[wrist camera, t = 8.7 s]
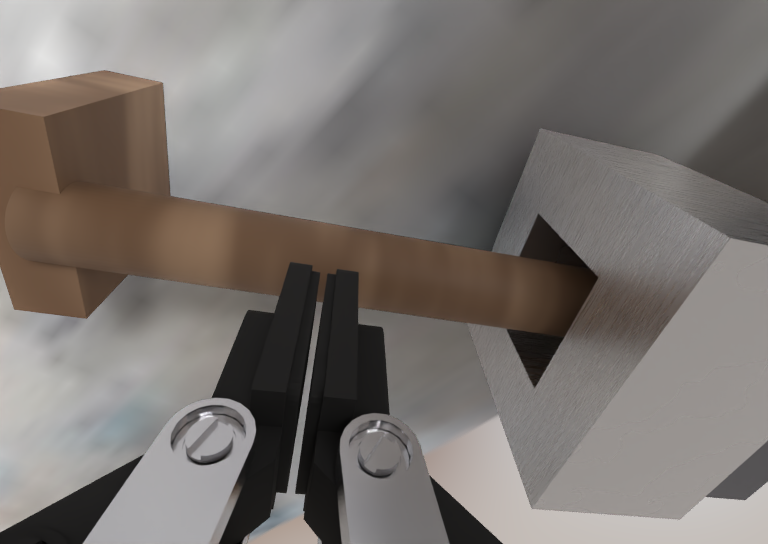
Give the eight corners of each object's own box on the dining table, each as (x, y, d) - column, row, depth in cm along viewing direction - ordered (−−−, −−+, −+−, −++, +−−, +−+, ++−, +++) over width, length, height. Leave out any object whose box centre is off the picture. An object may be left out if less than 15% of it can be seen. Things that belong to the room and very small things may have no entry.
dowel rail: (124, 219, 18) (-7, 326, 11) (104, 70, 14) (-90, 103, 8) (694, 311, 22) (826, 426, 16) (771, 211, 19) (973, 303, 13)
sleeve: (464, 317, 19) (531, 508, 12) (540, 128, 15) (730, 237, 7) (559, 331, 20) (679, 519, 12) (658, 155, 16) (946, 280, 8)
